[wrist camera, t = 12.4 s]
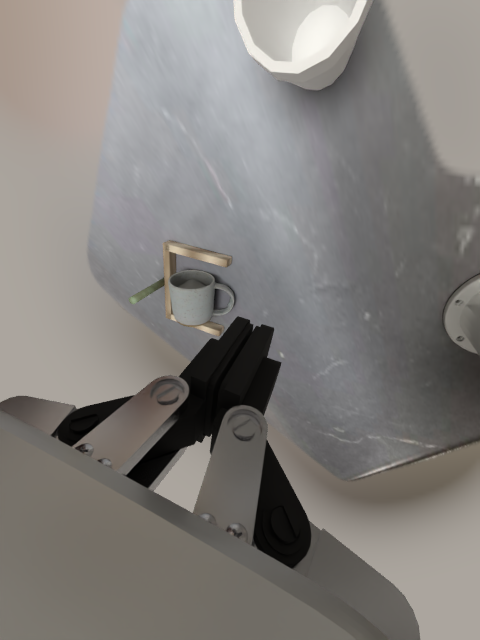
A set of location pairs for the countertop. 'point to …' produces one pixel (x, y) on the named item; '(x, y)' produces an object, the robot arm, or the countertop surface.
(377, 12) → the countertop surface
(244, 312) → the countertop surface
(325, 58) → the foam cup
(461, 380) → the countertop surface
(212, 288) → the ceramic mug
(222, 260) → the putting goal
